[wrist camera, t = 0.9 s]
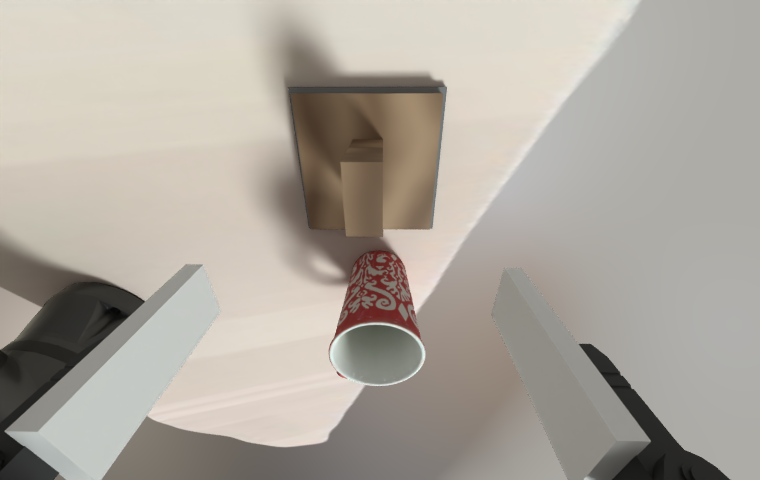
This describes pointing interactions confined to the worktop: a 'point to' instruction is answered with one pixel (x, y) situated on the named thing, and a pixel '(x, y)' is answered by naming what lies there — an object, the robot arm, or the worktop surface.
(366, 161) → the wooden base stand
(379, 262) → the mug
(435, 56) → the worktop surface
